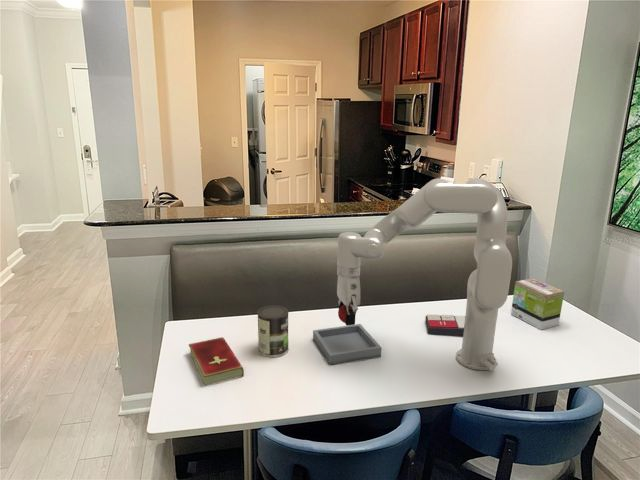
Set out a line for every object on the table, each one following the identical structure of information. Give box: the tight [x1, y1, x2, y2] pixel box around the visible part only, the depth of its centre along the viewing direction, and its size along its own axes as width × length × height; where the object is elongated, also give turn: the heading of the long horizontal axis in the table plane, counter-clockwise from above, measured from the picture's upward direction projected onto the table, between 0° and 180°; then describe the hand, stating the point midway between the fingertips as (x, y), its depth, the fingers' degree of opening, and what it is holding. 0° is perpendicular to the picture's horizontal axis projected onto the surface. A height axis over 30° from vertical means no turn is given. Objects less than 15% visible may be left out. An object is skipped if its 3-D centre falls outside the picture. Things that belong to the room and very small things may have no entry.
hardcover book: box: [188, 336, 245, 386], centre depth 148 cm, size 12×21×4 cm, turn 27°
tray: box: [312, 323, 382, 366], centre depth 159 cm, size 18×18×4 cm
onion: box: [337, 303, 357, 325], centre depth 156 cm, size 6×6×8 cm
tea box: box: [510, 277, 565, 331], centre depth 181 cm, size 15×10×15 cm, turn 25°
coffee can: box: [256, 305, 289, 358], centre depth 156 cm, size 10×10×14 cm
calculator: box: [424, 314, 465, 338], centre depth 174 cm, size 11×4×15 cm
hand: (346, 319), depth 157 cm, fingers closed on onion, 5 cm apart
